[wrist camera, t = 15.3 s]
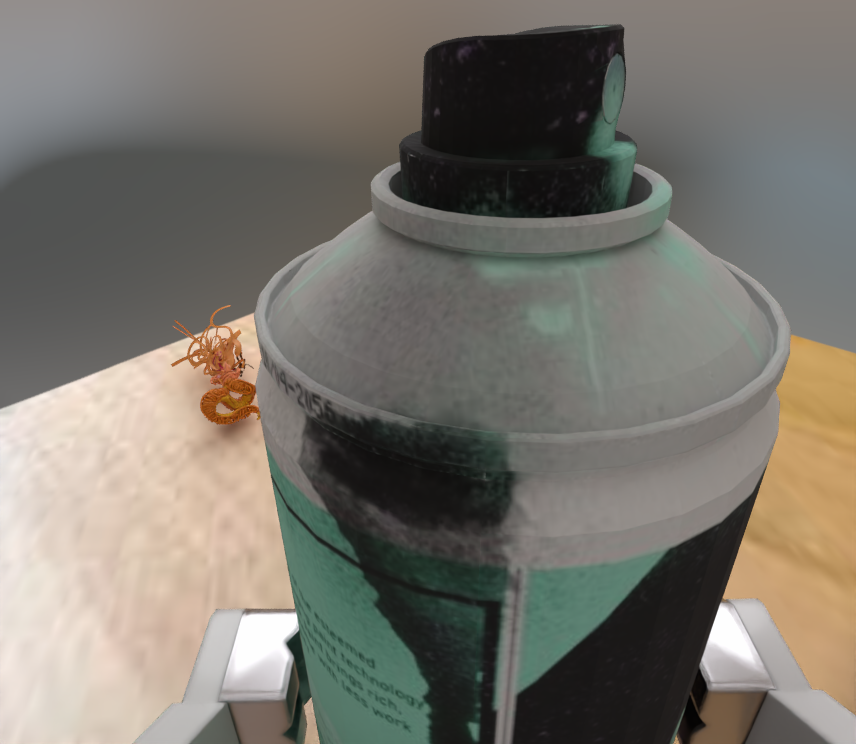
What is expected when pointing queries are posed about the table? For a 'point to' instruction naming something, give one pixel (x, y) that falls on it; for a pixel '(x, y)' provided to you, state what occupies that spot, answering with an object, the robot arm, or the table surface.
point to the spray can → (514, 419)
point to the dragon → (223, 377)
